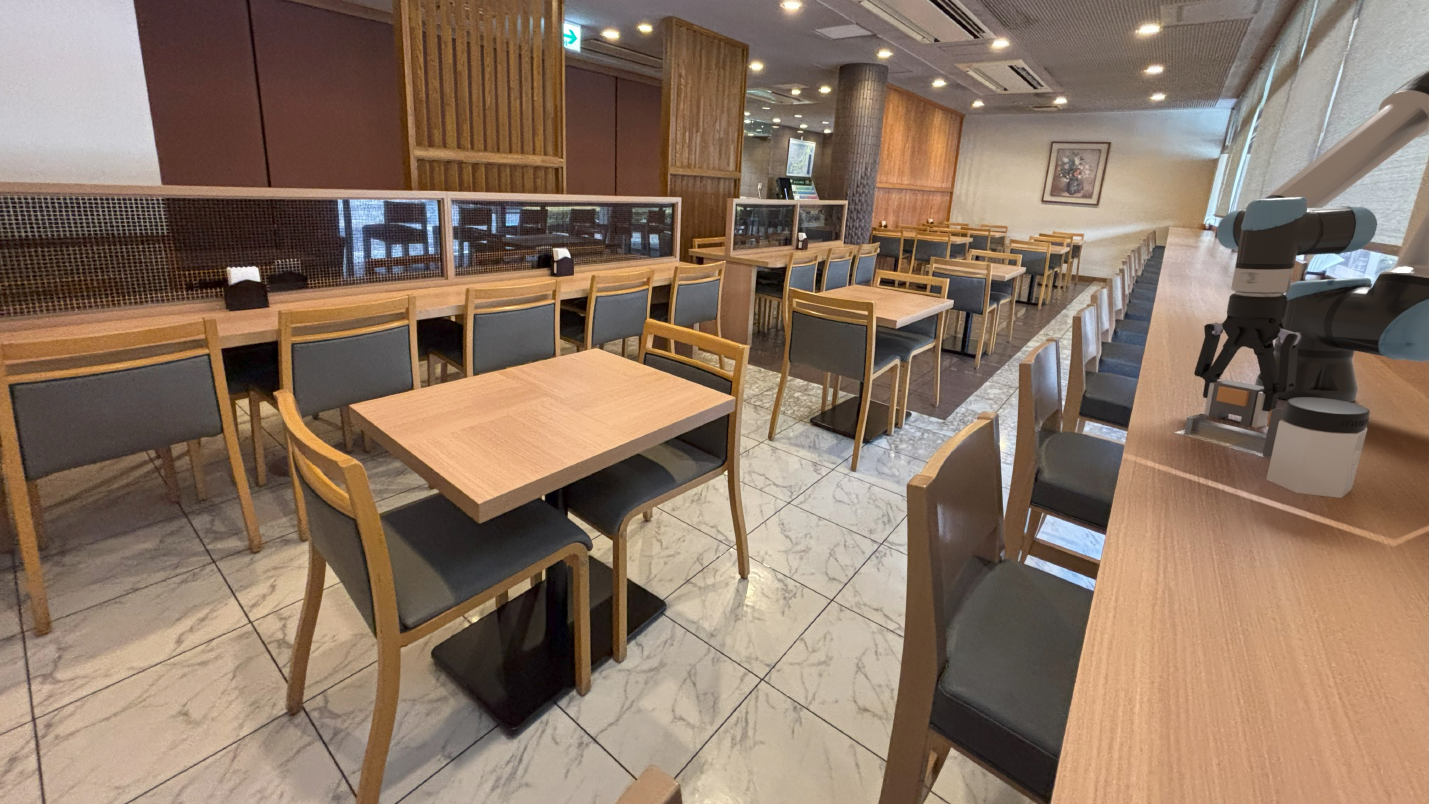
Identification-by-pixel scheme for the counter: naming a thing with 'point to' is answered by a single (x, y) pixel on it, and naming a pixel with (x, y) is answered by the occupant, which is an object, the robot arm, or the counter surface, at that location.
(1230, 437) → the rail
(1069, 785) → the counter surface
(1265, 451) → the fixed finger
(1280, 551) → the counter surface
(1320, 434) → the jar
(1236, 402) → the block
